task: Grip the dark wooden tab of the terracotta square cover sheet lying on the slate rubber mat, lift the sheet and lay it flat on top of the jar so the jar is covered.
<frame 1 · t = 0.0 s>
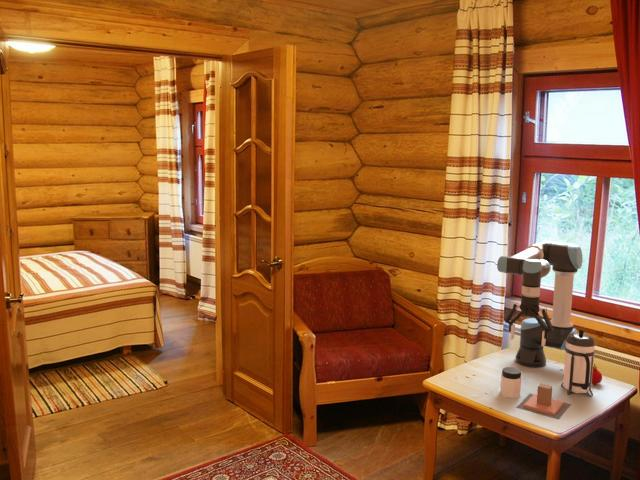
hand: (527, 342, 261), 28 cm above the table, tool pointing down, fingers open, 13 cm apart
jar: (510, 395, 272), on the table
coffee press: (578, 393, 275), on the table
mat: (543, 407, 260), on the table
sheet: (543, 405, 260), point 1 cm above the table, touching mat
christmas ornament: (593, 384, 285), on the table
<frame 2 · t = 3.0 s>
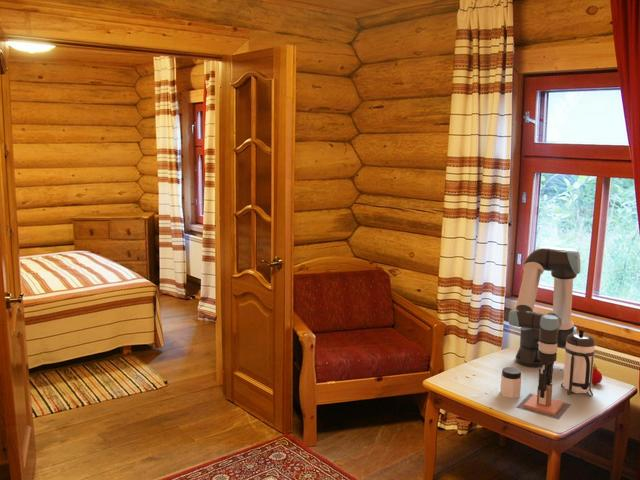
hand: (543, 401, 260), 2 cm above the table, tool pointing down, fingers closed on sheet, 4 cm apart
sheet: (543, 405, 260), point 1 cm above the table, touching gripper, mat
everything else where it was.
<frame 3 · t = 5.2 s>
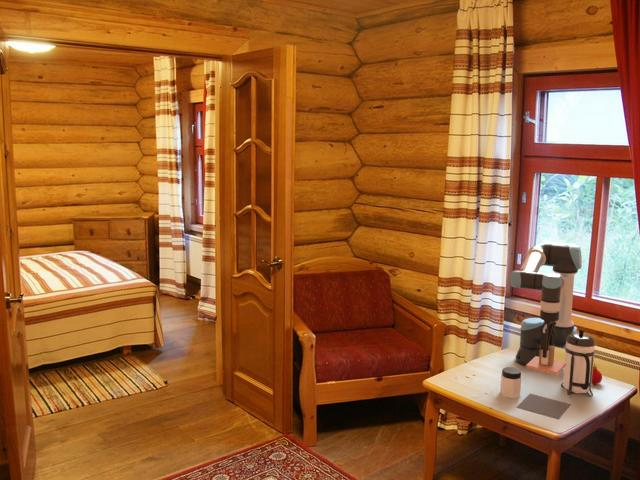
hand: (546, 362, 257), 21 cm above the table, tool pointing down, fingers closed on sheet, 4 cm apart
sheet: (545, 366, 257), point 19 cm above the table, touching gripper
everything else where it was.
when the fingers open (15 cm above the table, at t = 7.3 s): sheet drops 2 cm, resting on jar.
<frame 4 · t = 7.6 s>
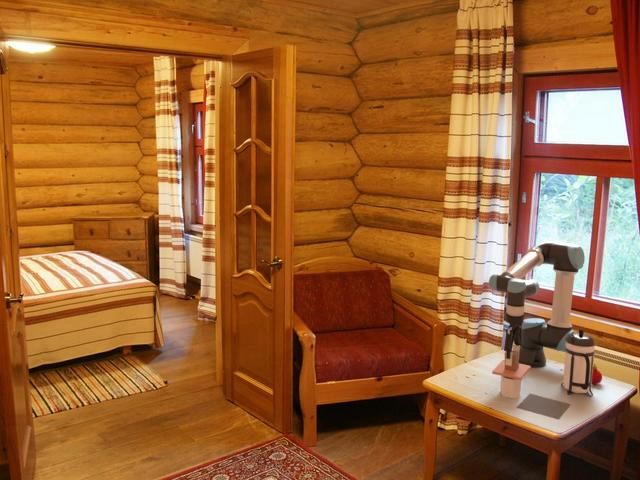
hand: (512, 361, 270), 16 cm above the table, tool pointing down, fingers open, 8 cm apart
jar: (510, 395, 272), on the table, touching sheet
sheet: (511, 370, 270), point 12 cm above the table, tilted 6°, touching jar
everything else where it was.
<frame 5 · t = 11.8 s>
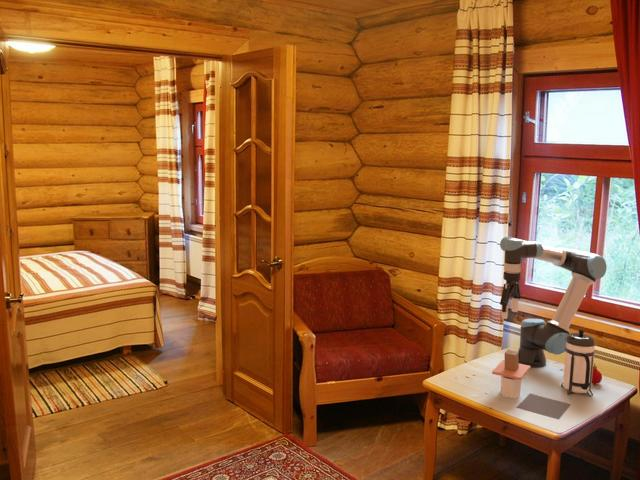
hand: (509, 315, 284), 33 cm above the table, tool pointing down, fingers open, 13 cm apart
nothing on the table moved.
at the end: sheet 0.0 cm off-centre on the jar, point 11.9 cm above the jar's base; jar tilted 0°; the gripper is holding nothing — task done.
